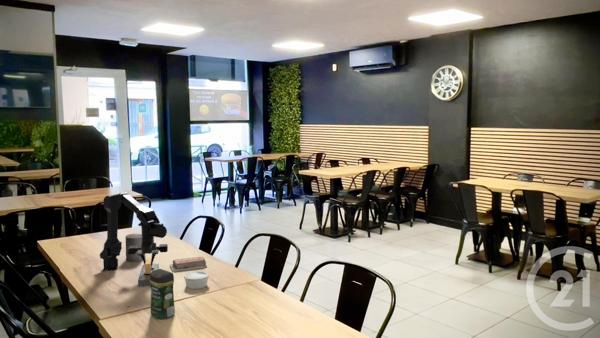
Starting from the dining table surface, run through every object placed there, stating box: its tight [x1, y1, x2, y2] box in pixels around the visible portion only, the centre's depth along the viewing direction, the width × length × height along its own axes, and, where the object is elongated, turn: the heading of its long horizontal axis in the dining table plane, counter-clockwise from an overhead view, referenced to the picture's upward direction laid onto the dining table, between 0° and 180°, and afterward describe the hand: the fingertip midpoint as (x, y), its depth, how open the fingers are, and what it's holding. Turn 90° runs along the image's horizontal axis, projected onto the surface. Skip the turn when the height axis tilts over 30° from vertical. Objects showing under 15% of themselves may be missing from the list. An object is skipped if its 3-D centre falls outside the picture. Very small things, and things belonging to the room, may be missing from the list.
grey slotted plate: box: [137, 263, 160, 287], centre depth 232 cm, size 24×8×3 cm, turn 13°
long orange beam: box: [145, 257, 152, 274], centre depth 232 cm, size 2×10×5 cm, turn 13°
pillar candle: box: [125, 233, 143, 263], centre depth 261 cm, size 10×10×15 cm
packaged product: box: [169, 256, 208, 273], centre depth 249 cm, size 18×5×10 cm
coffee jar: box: [150, 268, 176, 320], centre depth 187 cm, size 10×8×19 cm
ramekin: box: [183, 271, 209, 290], centre depth 221 cm, size 11×11×5 cm
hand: (148, 265), depth 232 cm, fingers closed on long orange beam, 2 cm apart
